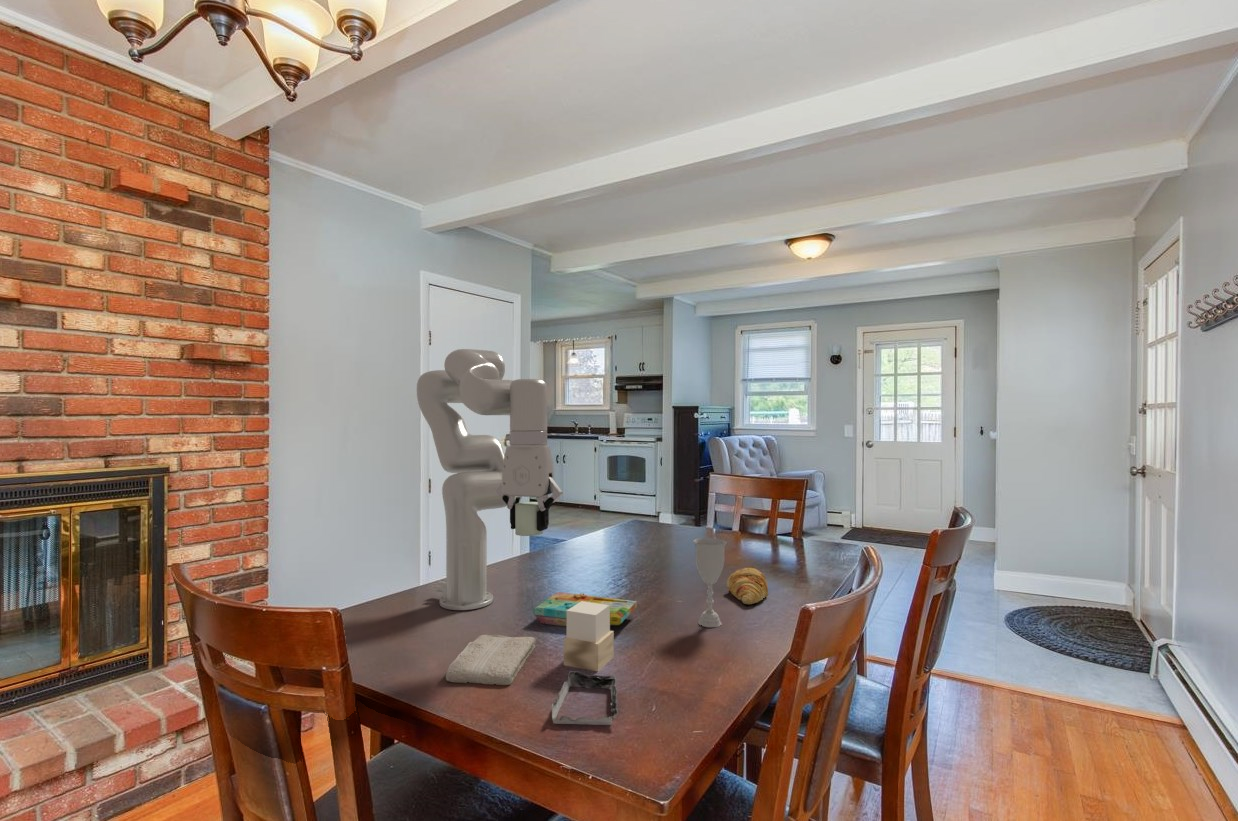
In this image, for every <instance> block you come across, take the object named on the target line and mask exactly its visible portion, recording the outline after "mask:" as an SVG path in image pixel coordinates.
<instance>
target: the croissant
mask: <svg viewBox="0 0 1238 821" xmlns="http://www.w3.org/2000/svg"><path fill="white" fill-rule="evenodd" d="M766 578H767V577H765V575H764V574H763V573H762V572H761V571H760V570H758V569H757V568H755V567H751V566H750V567H744V568H739V569H737V570H736V571H734V572H733V573H731V574H730V576H729V577H728V578H727V580H726V587H727V589H728V590H729V592H730V594H731V595H733V597H735V598H736V599H737V600H739V601H741V602H742V603H743V605H754V604H756V603H759V602H761V601H762V600H764V599H765V597H766V598H767V597H768V595H769V586H768V582H767V581H768V580H767V579H766ZM763 598H764V599H763Z"/></svg>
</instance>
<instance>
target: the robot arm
mask: <svg viewBox="0 0 1238 821" xmlns="http://www.w3.org/2000/svg"><path fill="white" fill-rule="evenodd" d="M505 365H506V364H505V361H504V359H503V357H502V355H500V354H499V353H498V352H496V351H494V350H486V349H483V350H482V349H469V348H461V349H455V350H452V352H450V353H449V354H448V355H447V356H446V358H445V360H444V365H443V366H444V369H437V370H430V371H429V370H428V371H427V372H424V373H422V374H421V375H420V376H419V377H418V379H417V383H416V398H417V404H418V407H419V409H420V411H421V414H422V415H423V417H424V419H425V422H427V424H428V427H429V429H430V430H431V434H432V439H433V443H434V446H435V449H436V454H437V457H438V459H439V463H440V466H441V467H442V469H443V470H444V471H445V472H446V473H450V474H451V475H449V476H448V477H447V478H446V479H445V480H444V481H443V483H442V487H441V493H442V494H441V495H442V500H443V505H444V512H445V527H446V528H445V532H446V533H445V534H446V535H445V536H446V537H445V539H446V544H445V547H446V548H445V549H446V550H445V555H446V557H445V561H446V564H445V565H446V566H445V571H446V572H445V574H446V575H445V577H446V578H445V580H446V581H444V580H443V581H441V580H438V582H437V583H436V585H435V586H434V591H435V592H441V593H442V596H441V597H440V599H439V606H440V607H441V608H443V609H445V610H446V609H447V610H450V611H451V610H452V611H470V610H476V609H481V608H484V607H486V606H489V605H490V604H491V603H492V602H493V601H494V595H493V594H492V593H491V592H489V591H487V588H488V587H487V584H488V583H487V580H488V578H487V574H488V573H487V572H488V571H487V570H488V566H487V564H488V561H487V559H488V557H487V556H488V555H487V554H488V553H487V552H488V551H487V548H488V546H487V544H488V539H487V538H488V537H487V534H488V533H487V531H488V530H487V527H486V524H485V522H484V521H483V520H482V518H481V517H480V516H479V514H478V512H480V511H485V510H494V509H495V510H496V509H503V508H505V507H506V508H507V509H508V510H509V522H510V530H515V504H516V503H521V501H522V498H523V497H527V498H529V497H530V498H535V499H536V502H538V506H539V511H537V530H538V531H543V532H544V531H545V530H548V526H549V524H550V521H549V520H550V518H549V515H550V513H549V512H550V510H551V508H552V507H553V506H554V504H555V503H556V502H557V501H558V500H559V499H560V498H561V497H562V496H563V495H564V491H563V490H562V489H561V487H560V486H559V485H558V484H557V483H556V481H555V470H554V469H555V468H554V461H553V460H554V459H553V455H552V450H551V447H550V446H548V386H547V383H546V381H544V380H542V379H537V378H519V379H515V380H512V379H511V380H510V379H504V376H505V373H506V366H505ZM449 403H450V404H463V405H464V407H466V408H468V409H469V410H470V411H471V412H473V413H475V414H477V415H481V416H509V433H506V434H505V440H506V441H509V446H506V448H505V451H504V449H503V446H502V444H501V442H500V441H499V440H498V439H497V438H496V437H494V436H492V435H489V434H471V433H469V432H468V430H467V427H466V423H465V420H464V419H463V417H462V416H461V414H460V413H458V412H457V411H456V409H454V408H453V407H451V406H450V405H449ZM549 495H550V496H549Z"/></svg>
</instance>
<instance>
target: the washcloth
mask: <svg viewBox="0 0 1238 821" xmlns="http://www.w3.org/2000/svg"><path fill="white" fill-rule="evenodd" d="M536 642H537V639H536V638H535V637H532V636H515V637H510V636H506V635H501V634H482V635H479V636H478V637H477V638H476V639H475V640H474V641H470V642H468V643H467V645H466V647H464V649H463V650H462V651H461V652H460V653H459V654H458V655H457V657H456V658H455V659H454V660H453V661H452V662H451V664H449V666H448V668H447V671H446V674H445V681H446V682H450V683H457V684H459V683H461V684H462V683H463V684H468V683H467V682H469V683H471V684H472V683H473V684H482V685H491V686H493V685H494V684H496V685H497V686H509V685H510V686H511V684H512V683H513V682H514V680H515V679H516V677H517V675H518V673H520V671H521V670H522V668H523V666H524V665H525V662H526V661H527V660H528V658H529V657H530V655H532V652H533V651H534V650H535V649H536V645H535V644H536ZM534 648H535V649H534ZM529 654H530V655H529ZM526 659H527V660H526ZM521 667H522V668H521ZM520 669H521V670H520Z"/></svg>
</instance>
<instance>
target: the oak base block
mask: <svg viewBox="0 0 1238 821" xmlns="http://www.w3.org/2000/svg"><path fill="white" fill-rule="evenodd" d="M614 632H615V631H614V630H610V632H609V633H607V634H606V635H605V636H604V637H602V638H601V639H600V640H599V641H598V642H596V643H594V642H588V641H582V640H577V639H571V638H567V635H566V636H565V637H564V638H563V666H566V667H572V668H576V669H581V670H587V671H593V672H600V671H601V670H602V669H603V668H604V667H605V666H606V665H607V664H608V663H609V662H610V661H611V660H612V659H613V658H614V656H615V653H614V652H615V650H614V649H615V647H614V646H615V639H614V638H615V637H614V636H615V633H614Z"/></svg>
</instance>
